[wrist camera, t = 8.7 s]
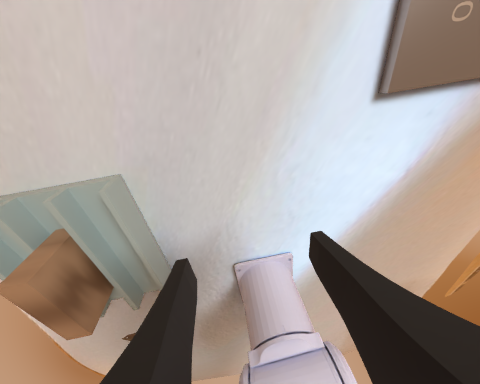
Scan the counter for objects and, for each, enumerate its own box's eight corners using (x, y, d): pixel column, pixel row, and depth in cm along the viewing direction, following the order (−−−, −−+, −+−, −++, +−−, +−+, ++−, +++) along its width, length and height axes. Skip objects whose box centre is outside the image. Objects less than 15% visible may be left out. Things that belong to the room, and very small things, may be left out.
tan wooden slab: (119, 276, 22) (91, 334, 17) (98, 280, 22) (64, 340, 17) (79, 225, 18) (27, 283, 13) (53, 230, 18) (-10, 290, 13)
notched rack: (176, 279, 25) (172, 301, 23) (78, 300, 25) (63, 325, 22) (120, 174, 17) (104, 190, 14) (-30, 201, 16) (-74, 224, 14)
